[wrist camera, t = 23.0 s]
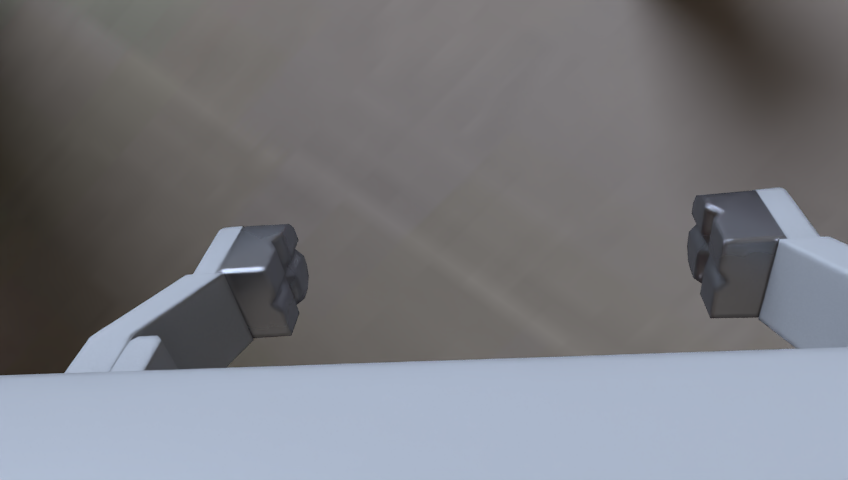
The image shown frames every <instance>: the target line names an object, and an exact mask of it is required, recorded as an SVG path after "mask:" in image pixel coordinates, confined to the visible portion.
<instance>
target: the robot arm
mask: <svg viewBox="0 0 848 480" xmlns="http://www.w3.org/2000/svg"><path fill="white" fill-rule="evenodd" d="M692 215H693V218H694V220H695V222H696V225H695V226H694V227H693V228H692V229H691V230H690V231H689V235H688V244H687V250H688V262H689V266H690V270H691V273H692V275H693V278H694V279H696V280H697V281H699V282H701V283H702V286H701V292H700V295H701V297H702V299H703V302H704V304H705V306H706V309H707V311H708V314H709V316H710V318H748V317H759V320H760V321H761V322H763V323H764V324H765V325H767V326H768V327H769V328H770V329H772V330H773V331H774V332H776V333H777V334H778V335H779V336H781V337H782V338H783V339H785V340H786V341H787V342H788V343H790V344H791V345H792V346H794V347H795V348H796V349H773V350H742V351H713V352H683V353H653V354H624V355H594V356H564V357H535V358H505V359H475V360H444V361H414V362H384V363H354V364H324V365H294V366H264V367H234V368H226V367H227V366H228V365H229V364H230V363H231V362H232V361H233V360H234V359H235V358H236V357H237V356H238V355H239V354H240V353H241V352H242V351H243V350H244V349H245V348H246V347H247V346H248V345H249V344H250V343H251V342H252V341H253V338H263V337H278V336H291V335H292V333H293V330H294V327H295V324H296V321H297V319H298V316H299V310H298V307H297V304H298V303H299V302H301V301H302V300H303V299H304V298H305V296H306V293H307V290H308V278H309V275H308V269H307V264H306V261H305V258H304V256H303V255H302V254H301V253H299V252H298V251H297V250H296V249H295V247H296V245H297V242H298V237H297V235H296V232H295V229H294V227H292V226H291V225H290V224H279V225H259V226H246V227H244V226H240V227H227V228H223V229H221V230H219V232H218V234H217V235H216V237H215V239H214V240H213V242H212V244H211V245H210V247H209V249H208V250H207V252H206V253H205V255H204V257H203V258H202V260H201V262H200V263H199V265H198V267H197V268H196V270H195V272H194V273H193V275H185V276H184V277H182V278H181V279H179V280H178V281H176V282H175V283H173V284H171V285H170V286H168V287H167V288H165V289H164V290H162V291H161V292H159V293H157V294H156V295H154V296H153V297H151V298H150V299H148V300H147V301H145V302H143V303H142V304H140V305H139V306H137V307H136V308H134V309H133V310H131V311H129V312H128V313H126V314H125V315H123V316H122V317H120V318H119V319H117V320H115V321H114V322H112V323H111V324H109V325H108V326H106V327H105V328H103V329H102V330H100V331H98V332H97V333H95V334H94V335H92V336H91V337H90V338H89V339H88V340H87V342H86V343H85V345H84V346H83V347H82V349H81V350H80V352H79V353H78V354H77V356H76V357H75V359H74V360H73V361H72V363H71V364H70V366H69V367H68V368H67V370H66V371H65V373H55V374H25V375H0V480H848V245H847V244H845V243H843V242H841V241H838V240H836V239H834V238H832V237H821V236H820V235H819V234H818V232H817V231H816V230H815V228H814V227H813V226H812V224H811V223H810V222H809V220H808V219H807V218H806V216H805V215H804V214H803V212H802V211H801V210H800V208H799V207H798V205H797V204H796V203H795V201H794V200H793V199H792V197H791V196H790V195H789V193H788V192H787V191H786V189H783V188H781V187H777V188H768V189H758V190H752V191H742V192H730V193H719V194H707V195H696V197H695V200H694V202H693V208H692Z"/></svg>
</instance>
